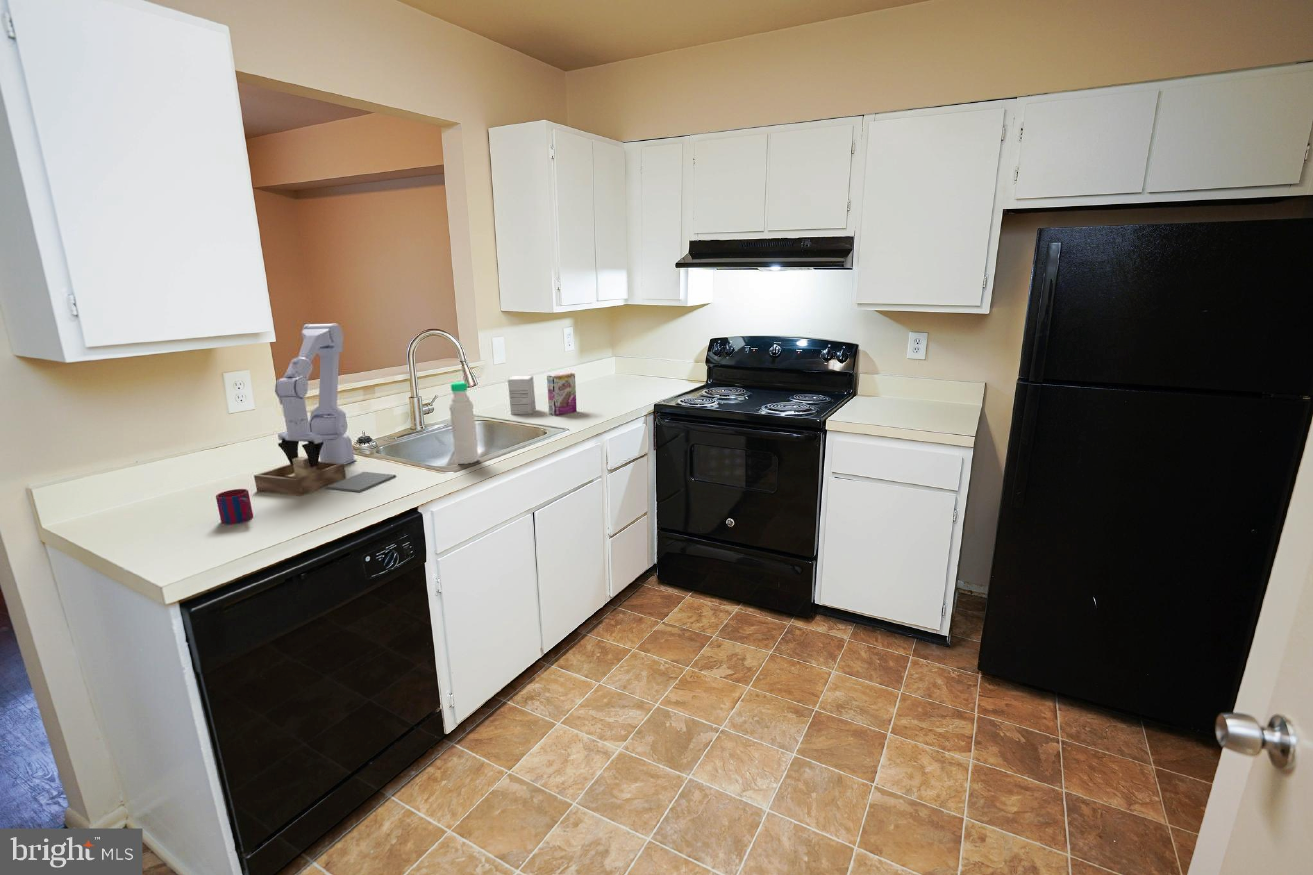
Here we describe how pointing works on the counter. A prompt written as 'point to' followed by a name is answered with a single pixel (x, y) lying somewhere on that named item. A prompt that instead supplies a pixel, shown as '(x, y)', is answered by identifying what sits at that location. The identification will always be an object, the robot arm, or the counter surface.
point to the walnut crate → (299, 479)
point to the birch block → (303, 466)
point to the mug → (234, 506)
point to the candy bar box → (561, 393)
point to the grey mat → (361, 481)
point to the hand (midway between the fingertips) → (304, 465)
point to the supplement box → (521, 395)
